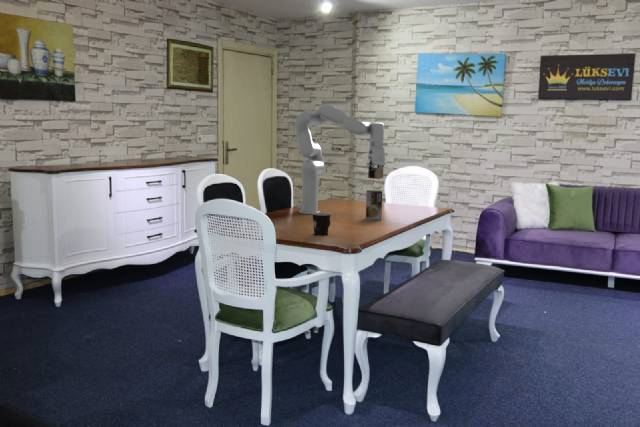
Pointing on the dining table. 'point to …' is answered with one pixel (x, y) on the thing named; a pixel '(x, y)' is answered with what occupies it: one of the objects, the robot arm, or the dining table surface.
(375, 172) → the walnut block
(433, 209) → the dining table surface
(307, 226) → the dining table surface
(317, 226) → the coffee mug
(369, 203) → the coffee box
